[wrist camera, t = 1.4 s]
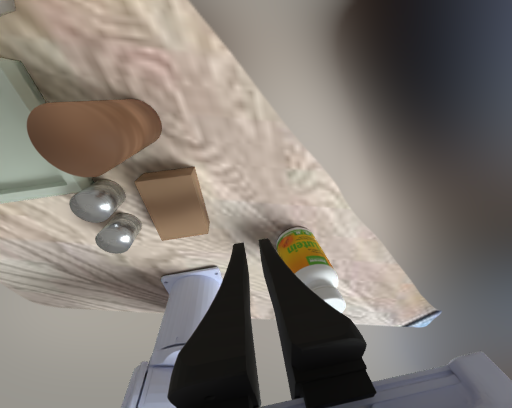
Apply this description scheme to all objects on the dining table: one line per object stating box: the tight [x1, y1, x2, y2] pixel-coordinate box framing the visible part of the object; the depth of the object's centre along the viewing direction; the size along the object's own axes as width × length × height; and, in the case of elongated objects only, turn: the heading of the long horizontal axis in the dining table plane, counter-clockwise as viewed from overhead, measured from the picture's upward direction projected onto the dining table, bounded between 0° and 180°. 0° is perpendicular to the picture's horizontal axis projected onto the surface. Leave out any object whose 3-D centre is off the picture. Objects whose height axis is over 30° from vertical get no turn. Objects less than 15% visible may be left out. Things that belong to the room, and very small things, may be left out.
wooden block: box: [134, 167, 210, 241], centre depth 19 cm, size 7×5×2 cm
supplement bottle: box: [276, 227, 346, 313], centre depth 22 cm, size 5×5×10 cm
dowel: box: [27, 99, 162, 177], centre depth 13 cm, size 4×4×8 cm
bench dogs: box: [70, 180, 142, 253], centre depth 19 cm, size 7×3×3 cm, turn 6°
